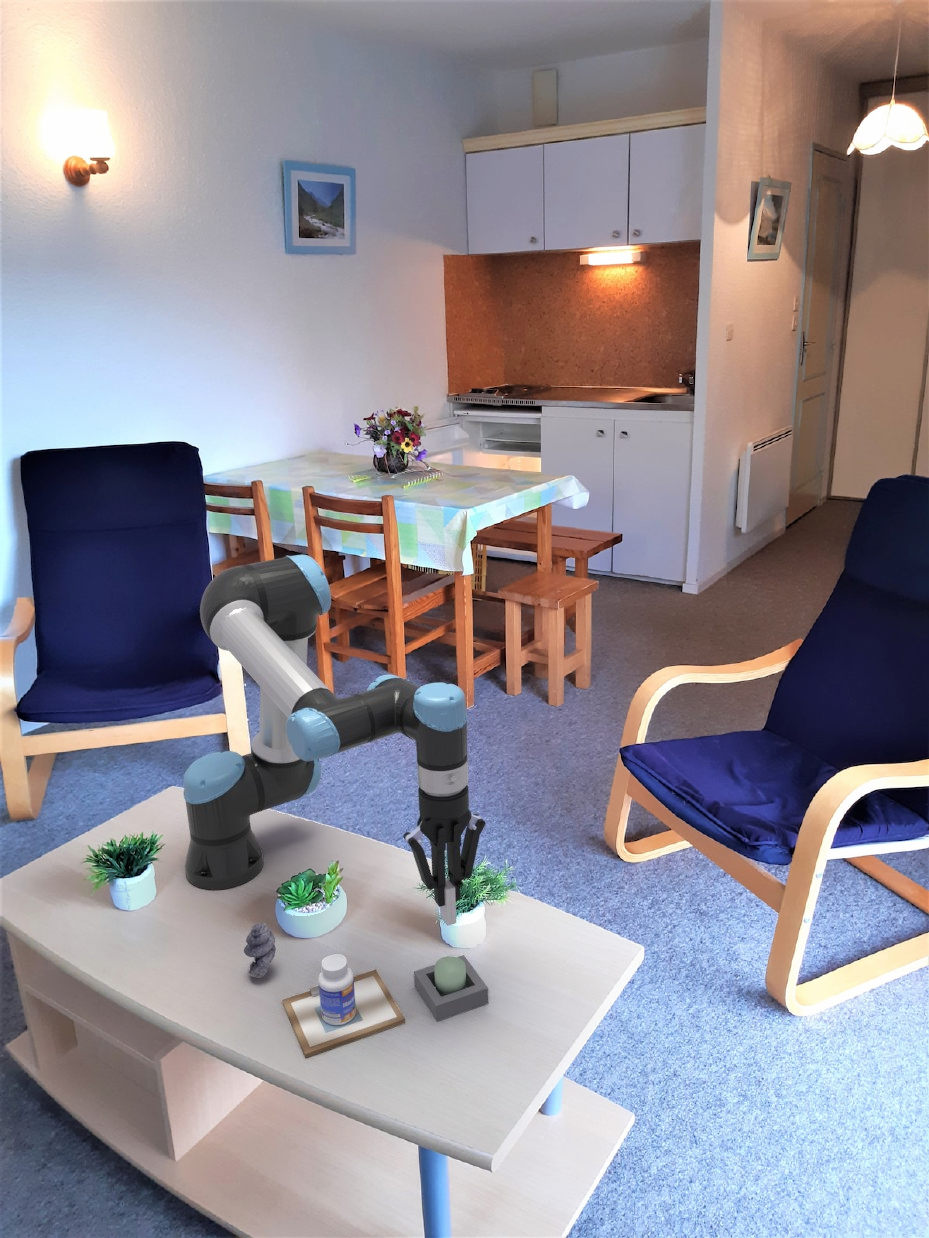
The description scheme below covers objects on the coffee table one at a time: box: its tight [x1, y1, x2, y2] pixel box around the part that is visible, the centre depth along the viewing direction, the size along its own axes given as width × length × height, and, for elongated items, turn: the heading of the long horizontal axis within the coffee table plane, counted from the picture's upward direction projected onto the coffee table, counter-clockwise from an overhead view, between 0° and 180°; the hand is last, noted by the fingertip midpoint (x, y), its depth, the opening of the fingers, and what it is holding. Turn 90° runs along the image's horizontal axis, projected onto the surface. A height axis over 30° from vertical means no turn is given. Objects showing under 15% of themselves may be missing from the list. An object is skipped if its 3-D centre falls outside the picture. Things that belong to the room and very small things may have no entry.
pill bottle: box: [317, 953, 356, 1025], centre depth 147 cm, size 5×5×10 cm
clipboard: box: [282, 969, 406, 1059], centre depth 150 cm, size 13×16×2 cm
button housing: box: [413, 954, 489, 1022], centre depth 153 cm, size 9×9×3 cm
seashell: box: [243, 922, 277, 980], centre depth 158 cm, size 5×5×10 cm
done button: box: [434, 956, 467, 997], centre depth 153 cm, size 5×5×4 cm
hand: (448, 919), depth 149 cm, fingers closed
